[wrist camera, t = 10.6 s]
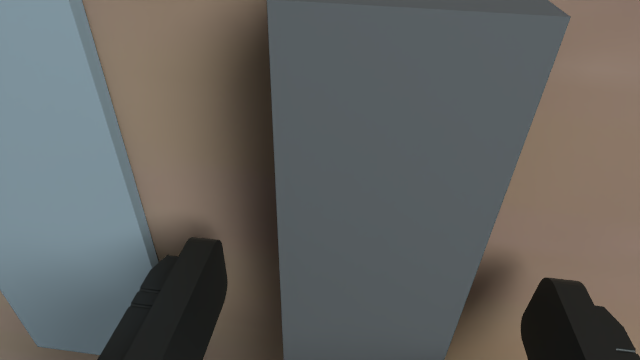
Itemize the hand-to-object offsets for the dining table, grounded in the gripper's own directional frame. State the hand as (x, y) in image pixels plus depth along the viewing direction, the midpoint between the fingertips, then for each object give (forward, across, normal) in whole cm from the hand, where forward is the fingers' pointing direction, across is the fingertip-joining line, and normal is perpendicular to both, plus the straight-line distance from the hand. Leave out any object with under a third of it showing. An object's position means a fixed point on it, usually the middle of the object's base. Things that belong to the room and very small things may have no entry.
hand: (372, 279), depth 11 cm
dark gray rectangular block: (+2, 0, 0) cm, 2 cm away
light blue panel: (+1, +10, 0) cm, 10 cm away
